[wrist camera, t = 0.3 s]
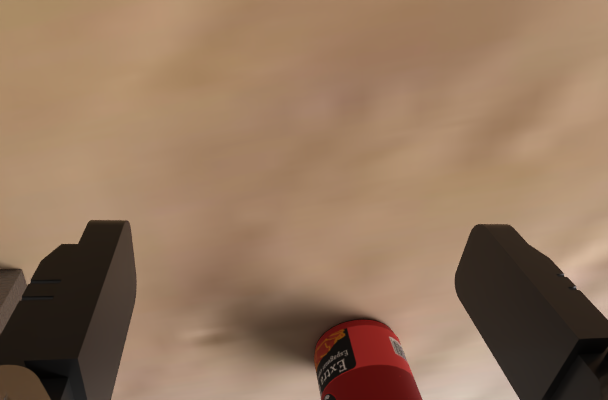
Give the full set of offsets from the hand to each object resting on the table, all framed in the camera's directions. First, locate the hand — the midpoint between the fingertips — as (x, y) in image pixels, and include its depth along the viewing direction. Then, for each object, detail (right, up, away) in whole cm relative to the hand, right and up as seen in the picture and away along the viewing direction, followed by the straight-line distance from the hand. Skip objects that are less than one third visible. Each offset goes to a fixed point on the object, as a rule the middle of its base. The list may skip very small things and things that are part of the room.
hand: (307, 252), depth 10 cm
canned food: (+5, -12, +30) cm, 33 cm away
